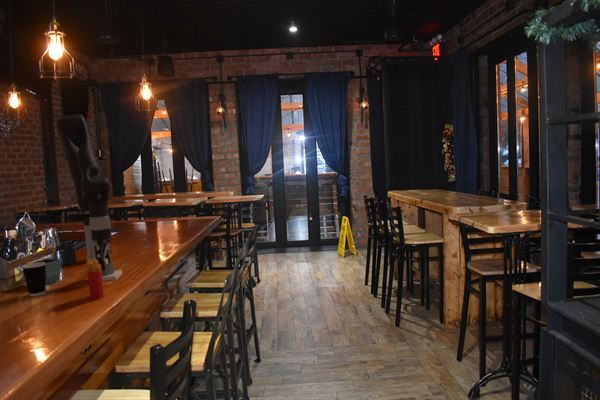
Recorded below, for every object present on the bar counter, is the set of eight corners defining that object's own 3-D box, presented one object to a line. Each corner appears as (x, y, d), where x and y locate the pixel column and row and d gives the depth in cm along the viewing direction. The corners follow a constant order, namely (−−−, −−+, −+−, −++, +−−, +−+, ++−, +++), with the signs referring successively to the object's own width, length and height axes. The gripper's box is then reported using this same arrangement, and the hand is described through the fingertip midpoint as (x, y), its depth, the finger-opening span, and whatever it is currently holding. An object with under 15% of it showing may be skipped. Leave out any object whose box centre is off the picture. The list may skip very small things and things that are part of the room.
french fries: (103, 299, 165) (99, 261, 163) (89, 301, 163) (85, 262, 162) (104, 292, 173) (100, 256, 172) (91, 294, 172) (87, 257, 171)
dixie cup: (51, 290, 182) (47, 261, 181) (48, 295, 175) (44, 265, 174) (27, 293, 180) (23, 264, 178) (23, 299, 172) (19, 268, 171)
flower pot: (64, 280, 196) (62, 258, 195) (47, 286, 188) (44, 263, 187) (47, 280, 199) (45, 258, 198) (29, 286, 191) (26, 263, 190)
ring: (100, 273, 198) (98, 262, 198) (115, 271, 199) (114, 260, 198) (96, 276, 192) (94, 265, 192) (111, 275, 193) (110, 263, 192)
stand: (96, 276, 200) (94, 258, 199) (122, 273, 201) (120, 255, 200) (89, 282, 190) (87, 263, 189) (116, 279, 191) (114, 260, 190)
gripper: (95, 225, 200) (100, 265, 202) (85, 231, 186) (90, 273, 188) (114, 224, 201) (119, 263, 203) (105, 229, 187) (110, 271, 189)
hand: (105, 268), depth 195 cm, fingers open, 8 cm apart
